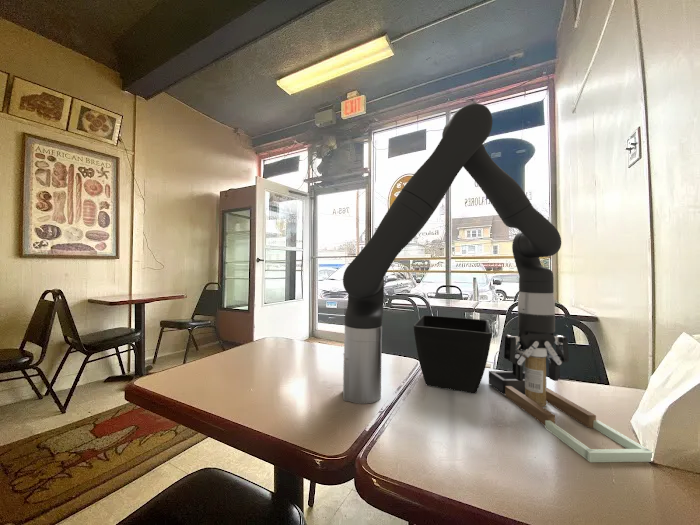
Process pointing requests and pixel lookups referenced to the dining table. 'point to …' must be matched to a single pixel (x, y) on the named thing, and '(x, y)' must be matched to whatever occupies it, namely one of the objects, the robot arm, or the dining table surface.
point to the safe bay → (630, 454)
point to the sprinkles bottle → (536, 376)
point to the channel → (553, 399)
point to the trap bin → (506, 381)
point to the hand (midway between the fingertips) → (536, 379)
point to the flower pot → (452, 351)
